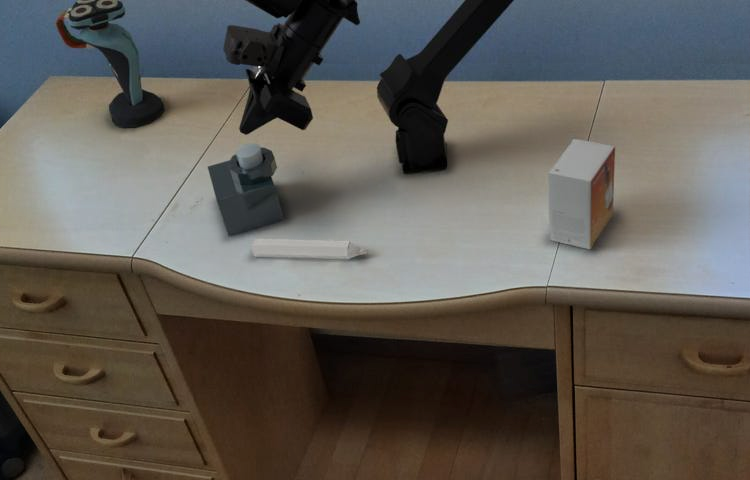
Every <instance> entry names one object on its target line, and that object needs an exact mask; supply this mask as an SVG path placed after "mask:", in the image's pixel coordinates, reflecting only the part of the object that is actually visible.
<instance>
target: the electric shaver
mask: <svg viewBox="0 0 750 480" xmlns="http://www.w3.org/2000/svg"><path fill="white" fill-rule="evenodd" d="M125 15H126V8H125V5H124V4H123V2H122V1H121V0H76V1H75V3H73V5H72V7H69V8H68V9H66V10H63V11H61V13H60V14H59V17H58V18H57V20H56V21H55V27H56V29H57V31H58V33H59V36H60V37H61V40H62V41H63V42H64V44H65V45H66V46H67V47H69V48H70V49H76V50H77V49H78V50H79V49H86V50H93V49H97V50H98V51H100V53H102V54H103V56H104V57H105V59H106V61H107V63H108V64H109V65H108V66H109V67H110V68H111V71H112V73H113V75H114V77H115V80H116V81H117V83H118V85H119V86H120V88H121V90H122V92H119V93H118V94H116V96H114V98H112V99H111V101H110V103H109V105H108V111H109V113H110V116H111V122H112V123H113V124H114V126H115V127H118V128H121V129H136V128H138V127H139V128H140V127H142V126H145V125H148V124H151V123H153V122H154V121H156V120H157V119H159V118H160V117H161V116H162V115H163V113H164V111H165V110H166V109H165V104H164V102H163V100H162V98H161V97H159V96H158V95H157V94H156V93H153V92H151V91H148V90H145V89H143V88H142V79H141V70H140V69H141V68H140V54H139V50H138V48H137V45H136V43H135V41H134V40H133V36H132V35H131V33H130V31H129V30H127V29H126V28H125V27H123V26H121V25H120V24H119V23H110V22H112V21H115V20H119V19H122V18H123V17H124V16H125ZM65 21H66V22H68V24H69V26H70V27H71V29H75V30H78V31H79V36H80V38H77V37H76V36H74V35H72V34H71V32H70V31H69V29H68V28H67V26H66V24H65Z"/></svg>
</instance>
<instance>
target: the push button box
mask: <svg viewBox="0 0 750 480" xmlns="http://www.w3.org/2000/svg"><path fill="white" fill-rule="evenodd" d="M260 148H261V152H262V155H263V159H264V161H263V163H262V164H261V165H259V166H258V167H255V168H251V169H242V168H241V167H240V166H239V162H238V159H237V156H236V153H235V154H233V155H232V156H231V158H230V159H228V160H226V161H222V162H218V163H215V164H212V165H208V166H207V170H208V173H209V178H210V181H211V185H212V188H213V192H214V196H215V200H216V203H217V206H218V209H219V212H220V216H221V218H222V221H223V225H224V227H225V230H226V233H227V236H228V237H232V236H235V235H238V234H242V233H246V232H249V231H252V230H256V229H259V228H262V227H266V226H270V225H273V224H277V223H280V222H284V221H285V218H284V214H283V210H282V207H281V204H280V200H279V196H278V192H277V188H276V186H275V182H274V179H273V176H274V174H275V172H277V171H276V170H277V169H278V165H277V162H276V158H275V156H274V152H273V151H272V150H271V149H269V148H266V147H264V146H263V147H261V146H260Z"/></svg>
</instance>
